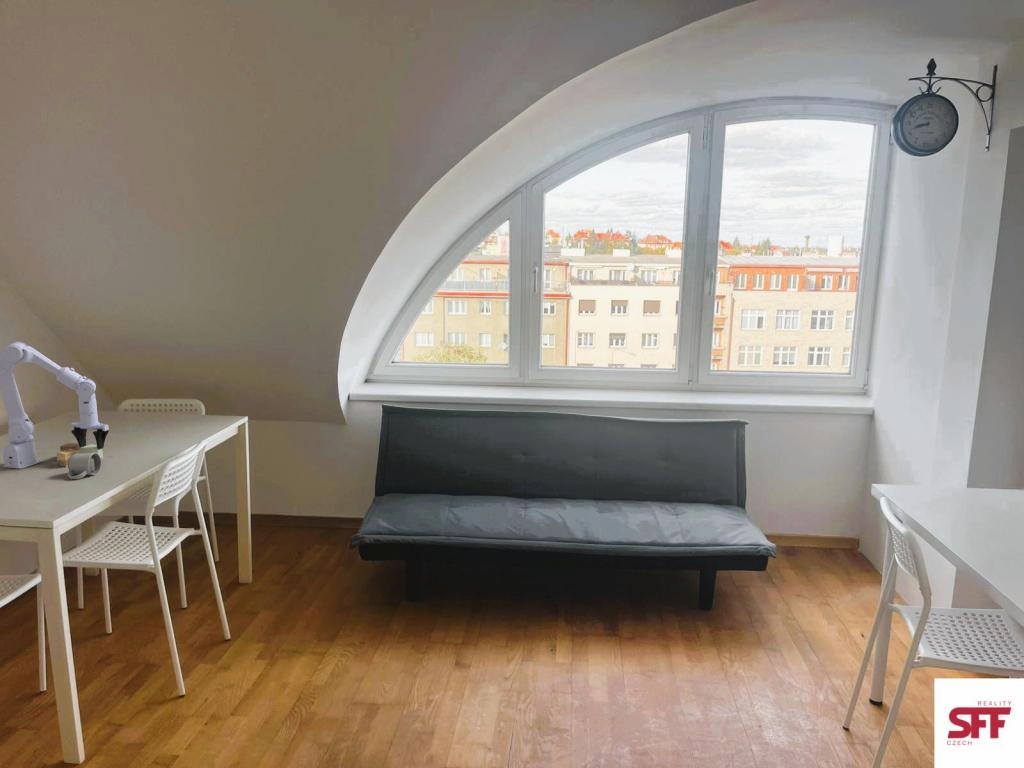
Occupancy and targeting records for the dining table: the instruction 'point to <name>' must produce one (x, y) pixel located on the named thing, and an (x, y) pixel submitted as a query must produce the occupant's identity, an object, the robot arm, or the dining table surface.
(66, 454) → the oak block
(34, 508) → the dining table surface
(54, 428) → the dining table surface
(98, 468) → the ceramic mug
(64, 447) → the walnut block
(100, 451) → the sage block
